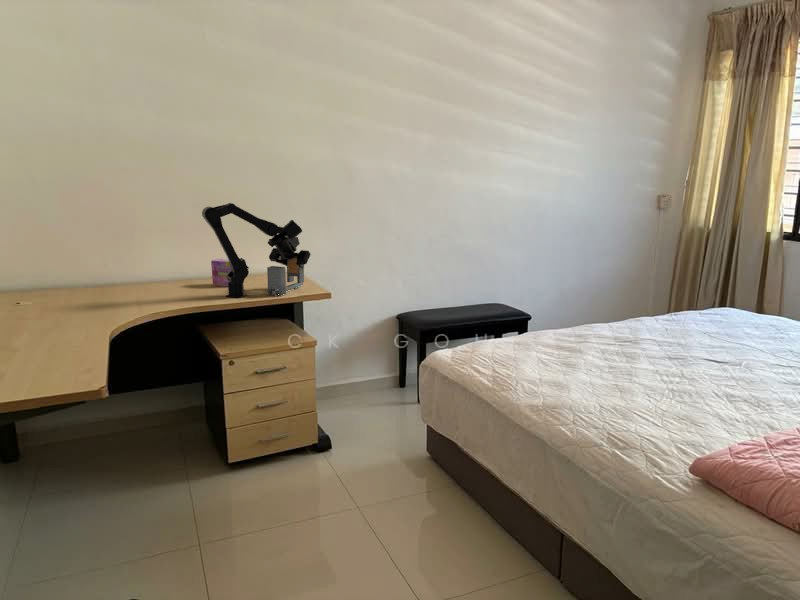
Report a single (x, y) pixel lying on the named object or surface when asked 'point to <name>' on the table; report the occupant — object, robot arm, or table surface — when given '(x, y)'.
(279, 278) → the tall grey block
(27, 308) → the table surface
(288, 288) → the rail
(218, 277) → the box
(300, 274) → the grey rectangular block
